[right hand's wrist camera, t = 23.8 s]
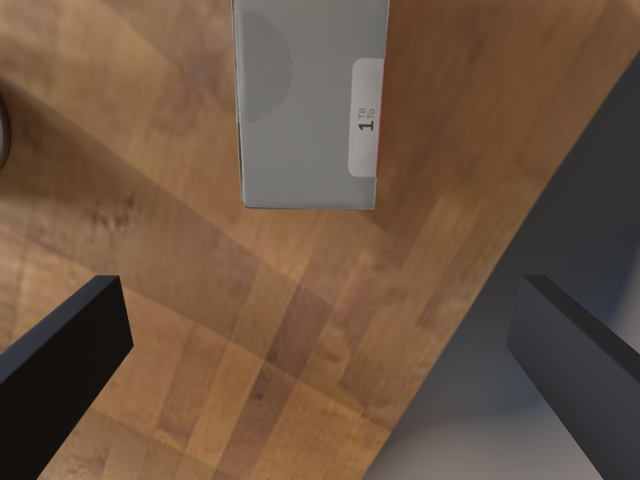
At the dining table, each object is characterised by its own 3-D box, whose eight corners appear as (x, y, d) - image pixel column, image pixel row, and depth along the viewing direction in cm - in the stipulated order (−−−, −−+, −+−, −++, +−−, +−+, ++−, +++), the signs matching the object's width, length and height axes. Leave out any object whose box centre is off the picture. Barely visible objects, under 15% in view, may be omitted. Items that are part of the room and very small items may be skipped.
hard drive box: (349, 158, 40) (374, 217, 21) (274, 156, 40) (235, 214, 21) (358, -18, 34) (403, -146, 16) (272, -21, 34) (215, -153, 16)
